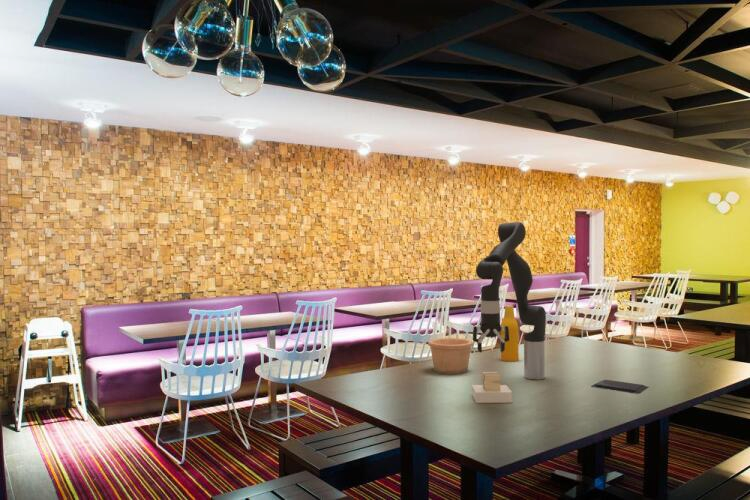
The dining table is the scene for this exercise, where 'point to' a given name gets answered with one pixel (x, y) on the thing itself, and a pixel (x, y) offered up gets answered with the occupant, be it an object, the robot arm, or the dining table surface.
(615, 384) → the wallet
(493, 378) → the maple cube
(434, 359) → the pottery
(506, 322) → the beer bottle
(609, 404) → the dining table surface
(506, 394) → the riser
